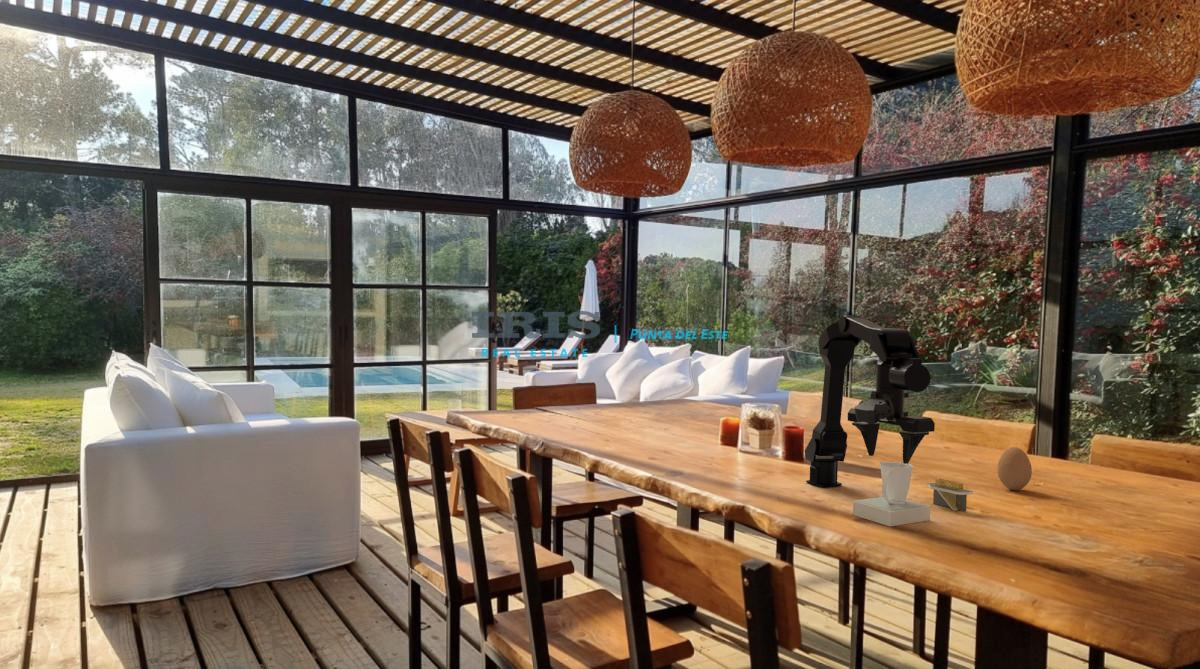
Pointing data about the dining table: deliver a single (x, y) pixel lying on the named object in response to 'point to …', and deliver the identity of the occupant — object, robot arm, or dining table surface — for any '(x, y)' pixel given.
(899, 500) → the cup
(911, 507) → the slab
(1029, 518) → the dining table surface
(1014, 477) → the egg
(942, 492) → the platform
